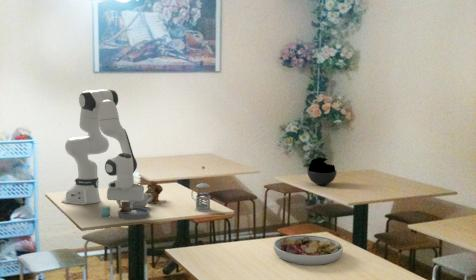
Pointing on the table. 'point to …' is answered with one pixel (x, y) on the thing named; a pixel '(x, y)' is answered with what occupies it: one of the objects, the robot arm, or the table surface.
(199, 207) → the french press
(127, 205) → the walnut bead
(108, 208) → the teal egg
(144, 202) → the teacup
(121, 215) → the groove tray
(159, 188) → the stuffed squirrel
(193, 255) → the table surface
